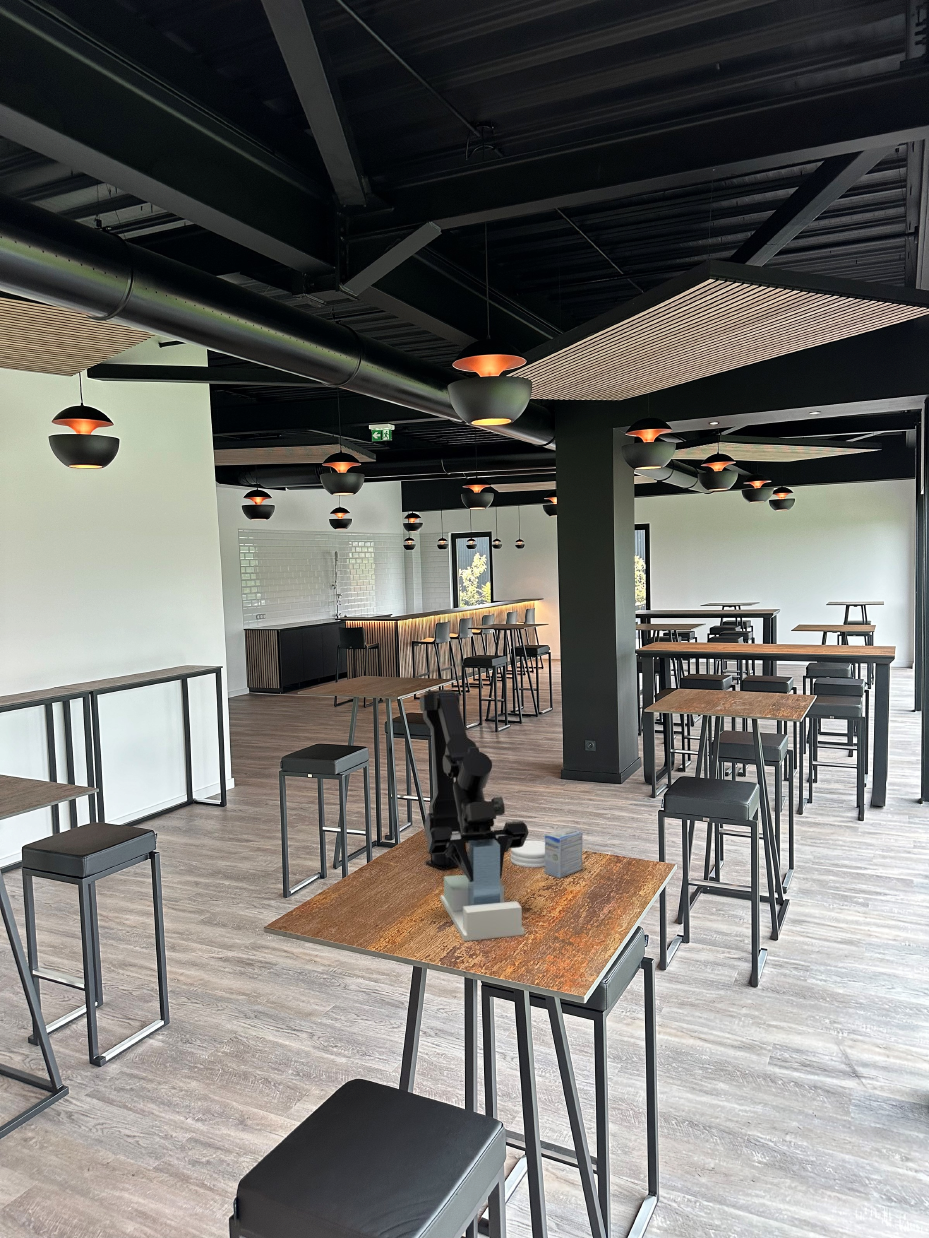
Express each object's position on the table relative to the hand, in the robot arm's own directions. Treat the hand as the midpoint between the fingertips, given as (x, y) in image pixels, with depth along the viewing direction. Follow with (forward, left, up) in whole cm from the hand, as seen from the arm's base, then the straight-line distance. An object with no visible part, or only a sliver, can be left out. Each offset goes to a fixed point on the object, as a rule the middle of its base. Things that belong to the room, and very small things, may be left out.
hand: (485, 879), depth 150 cm
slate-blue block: (-1, +1, -7) cm, 7 cm away
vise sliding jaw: (-8, +5, -7) cm, 12 cm away
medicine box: (-9, +33, -9) cm, 35 cm away
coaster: (-19, +34, -9) cm, 40 cm away
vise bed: (-4, +2, -8) cm, 10 cm away
